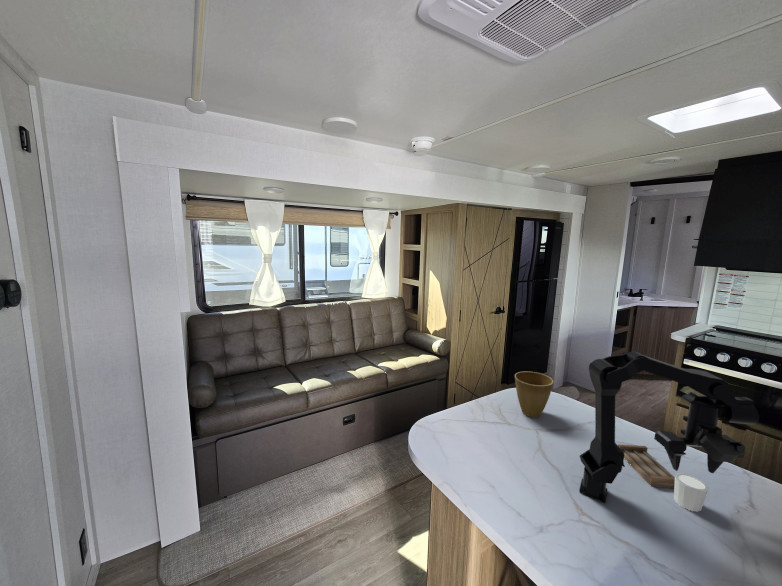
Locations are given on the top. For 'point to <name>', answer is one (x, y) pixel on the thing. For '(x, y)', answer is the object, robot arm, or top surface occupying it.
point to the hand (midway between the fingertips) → (692, 471)
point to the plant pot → (533, 392)
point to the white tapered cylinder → (690, 492)
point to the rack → (647, 466)
